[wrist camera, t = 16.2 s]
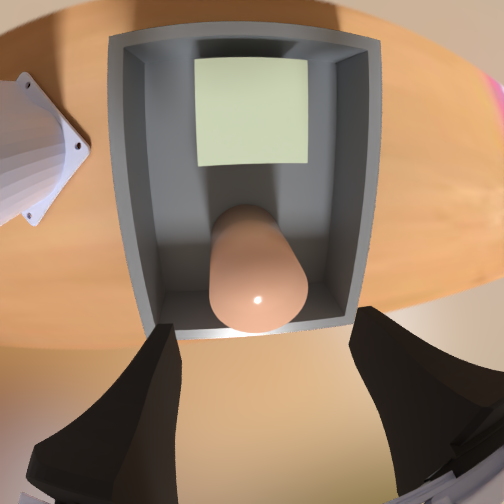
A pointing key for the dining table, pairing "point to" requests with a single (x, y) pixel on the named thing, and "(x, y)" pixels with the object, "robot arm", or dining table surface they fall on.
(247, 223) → the terracotta cylinder
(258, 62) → the green block
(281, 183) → the tote
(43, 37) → the dining table surface
